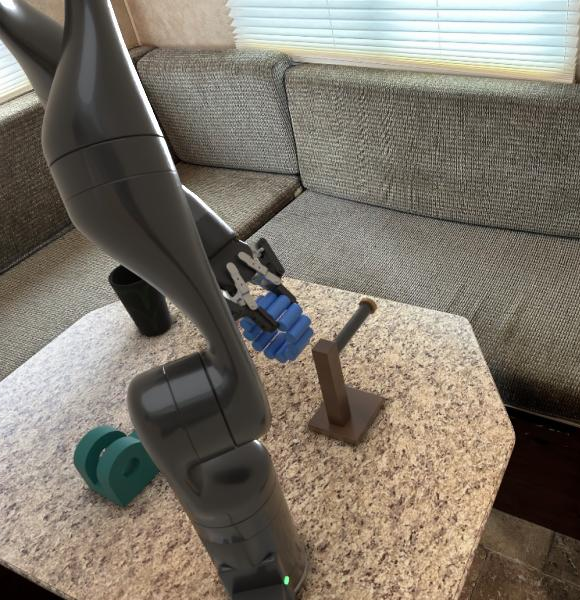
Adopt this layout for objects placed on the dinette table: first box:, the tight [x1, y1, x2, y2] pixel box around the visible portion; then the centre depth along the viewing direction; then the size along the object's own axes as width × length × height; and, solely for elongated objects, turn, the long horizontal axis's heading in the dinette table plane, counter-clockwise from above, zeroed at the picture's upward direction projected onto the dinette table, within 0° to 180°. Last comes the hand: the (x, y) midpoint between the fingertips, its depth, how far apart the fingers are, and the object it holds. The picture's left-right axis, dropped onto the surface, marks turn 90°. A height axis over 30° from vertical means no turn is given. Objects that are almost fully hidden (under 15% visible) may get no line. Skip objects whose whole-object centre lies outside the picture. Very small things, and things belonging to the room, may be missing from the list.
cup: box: [107, 264, 173, 338], centre depth 104 cm, size 8×8×12 cm
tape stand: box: [307, 297, 386, 447], centre depth 85 cm, size 14×8×16 cm, turn 154°
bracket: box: [72, 424, 160, 509], centre depth 84 cm, size 18×7×8 cm, turn 151°
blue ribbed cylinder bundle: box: [238, 291, 315, 364], centre depth 85 cm, size 4×9×9 cm, turn 65°
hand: (284, 318), depth 83 cm, fingers closed on blue ribbed cylinder bundle, 4 cm apart
